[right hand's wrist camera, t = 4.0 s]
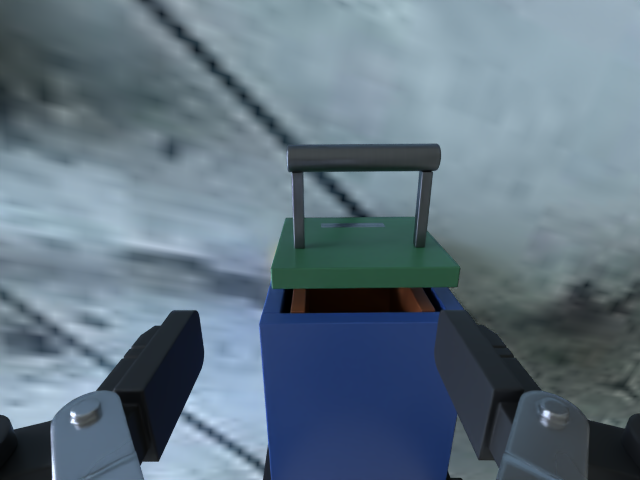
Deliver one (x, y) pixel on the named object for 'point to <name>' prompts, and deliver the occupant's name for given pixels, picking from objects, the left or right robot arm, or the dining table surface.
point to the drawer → (361, 239)
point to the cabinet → (355, 393)
